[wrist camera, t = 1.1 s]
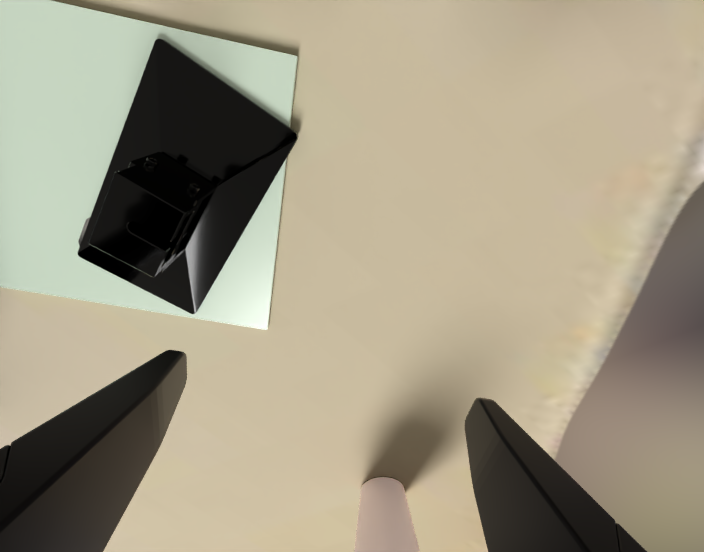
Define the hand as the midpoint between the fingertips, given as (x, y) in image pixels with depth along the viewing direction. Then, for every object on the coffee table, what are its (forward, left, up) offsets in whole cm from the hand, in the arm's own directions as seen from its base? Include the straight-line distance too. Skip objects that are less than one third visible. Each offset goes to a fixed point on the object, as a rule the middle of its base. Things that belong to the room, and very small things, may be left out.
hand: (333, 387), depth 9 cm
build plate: (-9, 0, -12) cm, 15 cm away
